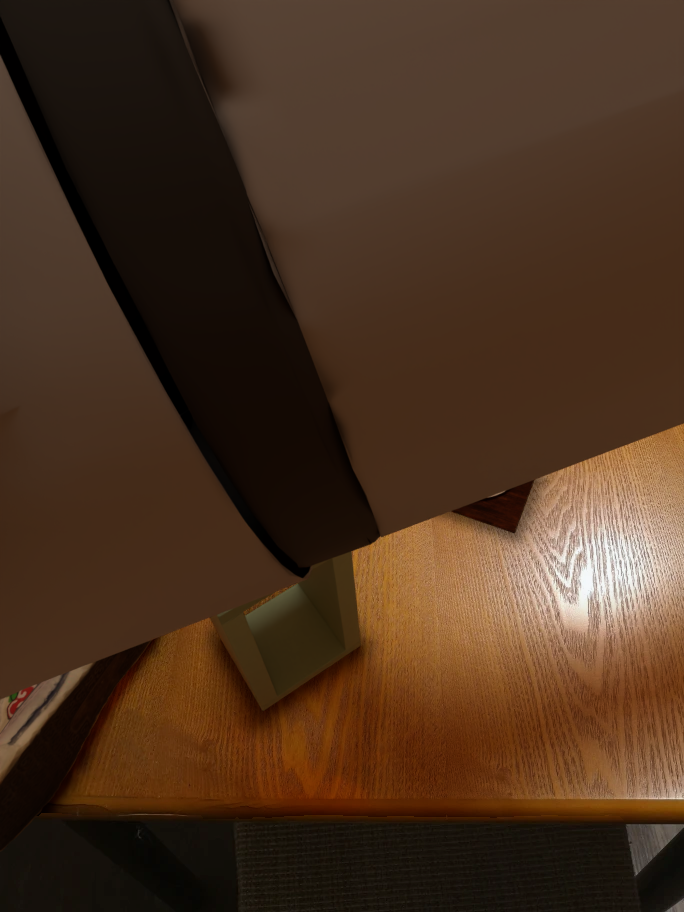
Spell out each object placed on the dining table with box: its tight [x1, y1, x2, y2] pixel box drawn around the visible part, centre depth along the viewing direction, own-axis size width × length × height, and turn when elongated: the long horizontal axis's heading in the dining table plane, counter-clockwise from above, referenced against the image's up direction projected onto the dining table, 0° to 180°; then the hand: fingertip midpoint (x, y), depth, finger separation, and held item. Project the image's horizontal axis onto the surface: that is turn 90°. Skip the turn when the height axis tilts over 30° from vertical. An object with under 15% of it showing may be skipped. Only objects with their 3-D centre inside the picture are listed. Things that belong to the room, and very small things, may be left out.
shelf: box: [209, 551, 362, 712], centre depth 52 cm, size 10×8×18 cm
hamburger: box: [451, 480, 535, 534], centre depth 68 cm, size 12×12×6 cm
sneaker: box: [0, 640, 153, 852], centre depth 53 cm, size 10×24×10 cm
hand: (227, 387), depth 39 cm, fingers closed on cup, 6 cm apart
